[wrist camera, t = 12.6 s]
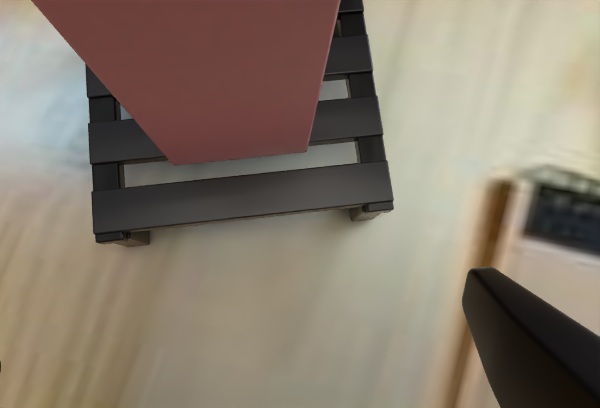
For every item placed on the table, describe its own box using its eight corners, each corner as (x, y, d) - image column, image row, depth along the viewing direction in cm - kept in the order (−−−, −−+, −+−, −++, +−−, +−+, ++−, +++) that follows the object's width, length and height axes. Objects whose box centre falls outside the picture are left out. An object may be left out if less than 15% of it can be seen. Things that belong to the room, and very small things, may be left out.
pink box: (309, 153, 18) (374, -117, 6) (171, 167, 17) (-59, -89, 5) (292, 29, 18) (322, -432, 7) (161, 40, 18) (-57, -424, 6)
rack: (375, 221, 21) (410, 199, 15) (124, 250, 20) (68, 237, 15) (345, 16, 22) (367, -69, 17) (112, 35, 22) (57, -48, 16)
